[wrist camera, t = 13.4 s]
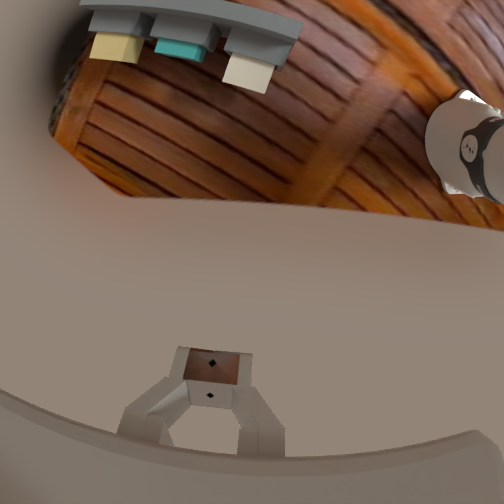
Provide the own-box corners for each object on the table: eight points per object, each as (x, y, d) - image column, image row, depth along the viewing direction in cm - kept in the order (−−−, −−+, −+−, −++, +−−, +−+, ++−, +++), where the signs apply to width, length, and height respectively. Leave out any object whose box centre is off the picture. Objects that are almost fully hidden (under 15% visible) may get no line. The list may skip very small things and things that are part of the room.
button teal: (213, 32, 31) (205, 25, 27) (202, 62, 33) (193, 59, 29) (177, 26, 30) (165, 18, 26) (167, 55, 32) (154, 51, 28)
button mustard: (146, 33, 31) (131, 28, 26) (137, 63, 33) (121, 61, 28) (115, 30, 30) (98, 26, 26) (107, 59, 32) (89, 57, 28)
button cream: (275, 63, 33) (277, 59, 28) (264, 94, 35) (264, 94, 31) (238, 52, 32) (234, 46, 28) (227, 82, 34) (222, 81, 30)
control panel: (291, 44, 35) (303, 23, 23) (280, 73, 37) (287, 64, 25) (131, 11, 32) (84, -10, 20) (121, 39, 34) (71, 27, 22)
